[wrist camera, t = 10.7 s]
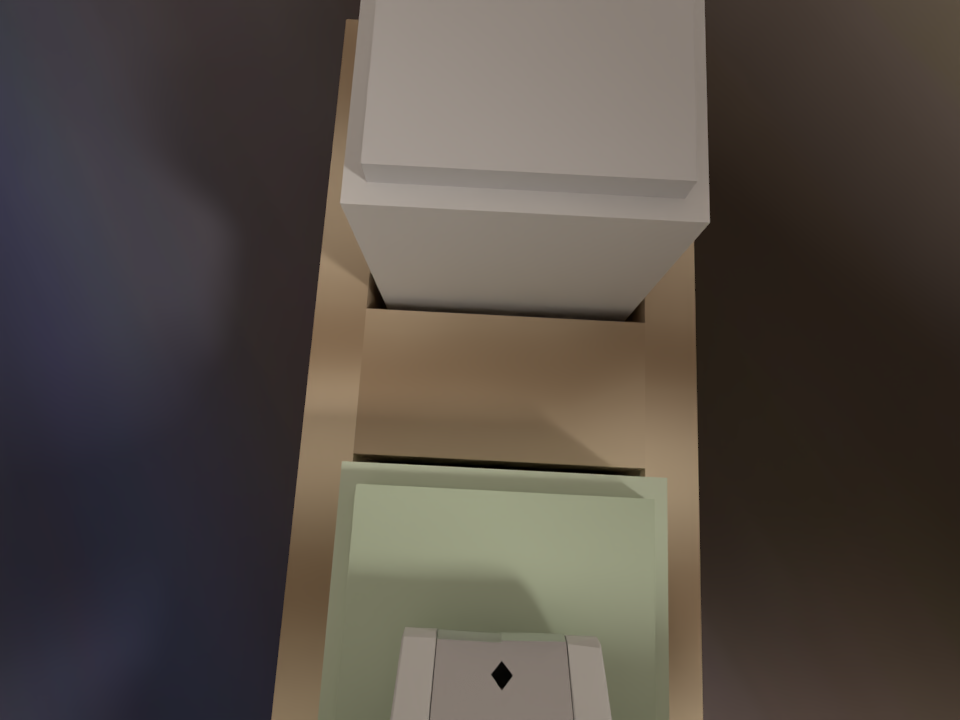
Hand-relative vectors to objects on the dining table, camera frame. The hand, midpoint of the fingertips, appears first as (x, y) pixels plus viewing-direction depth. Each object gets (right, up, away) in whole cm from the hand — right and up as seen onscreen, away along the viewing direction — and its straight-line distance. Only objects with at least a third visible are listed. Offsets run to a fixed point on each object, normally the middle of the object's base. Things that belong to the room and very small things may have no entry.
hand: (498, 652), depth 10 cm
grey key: (+1, +9, +7) cm, 11 cm away
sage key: (0, -2, +8) cm, 8 cm away
